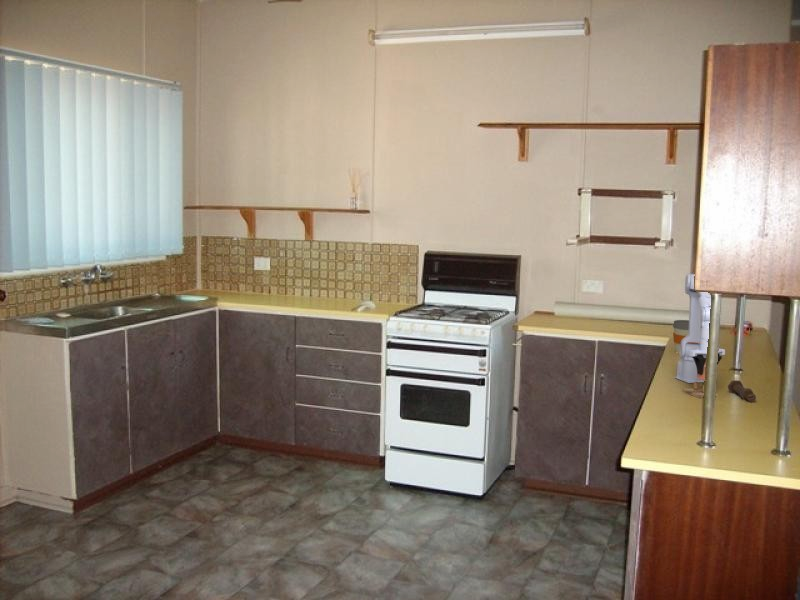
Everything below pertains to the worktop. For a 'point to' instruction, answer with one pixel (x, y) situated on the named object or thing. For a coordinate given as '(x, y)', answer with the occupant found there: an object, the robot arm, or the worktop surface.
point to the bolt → (741, 390)
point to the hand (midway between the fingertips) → (705, 373)
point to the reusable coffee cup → (680, 333)
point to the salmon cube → (702, 375)
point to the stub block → (695, 391)
